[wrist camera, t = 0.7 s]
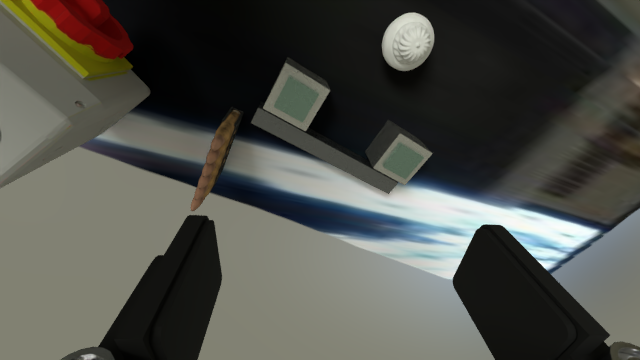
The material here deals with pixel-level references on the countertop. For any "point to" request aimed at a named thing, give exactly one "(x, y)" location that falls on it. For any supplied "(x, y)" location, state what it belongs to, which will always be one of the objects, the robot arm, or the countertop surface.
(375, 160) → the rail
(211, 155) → the ammunition clip
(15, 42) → the electrical switch box
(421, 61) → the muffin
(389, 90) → the countertop surface
